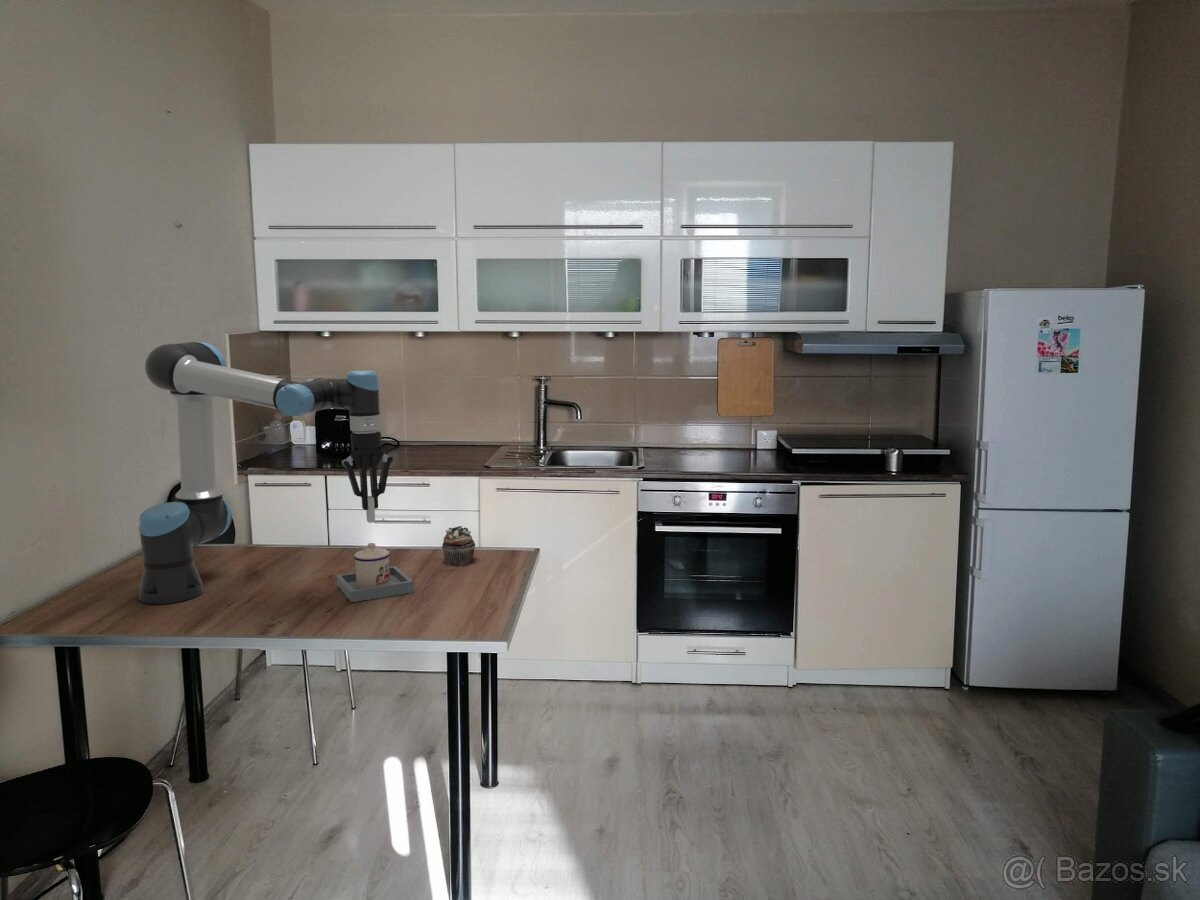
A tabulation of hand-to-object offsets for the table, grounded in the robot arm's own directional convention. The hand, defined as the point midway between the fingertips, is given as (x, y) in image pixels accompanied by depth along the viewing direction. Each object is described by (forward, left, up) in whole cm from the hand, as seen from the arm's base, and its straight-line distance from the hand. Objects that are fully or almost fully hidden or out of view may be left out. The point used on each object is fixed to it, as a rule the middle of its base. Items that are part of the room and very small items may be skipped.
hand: (371, 521), depth 233 cm
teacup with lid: (0, 0, -18) cm, 18 cm away
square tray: (0, 0, -18) cm, 18 cm away
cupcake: (+28, +13, -19) cm, 36 cm away
